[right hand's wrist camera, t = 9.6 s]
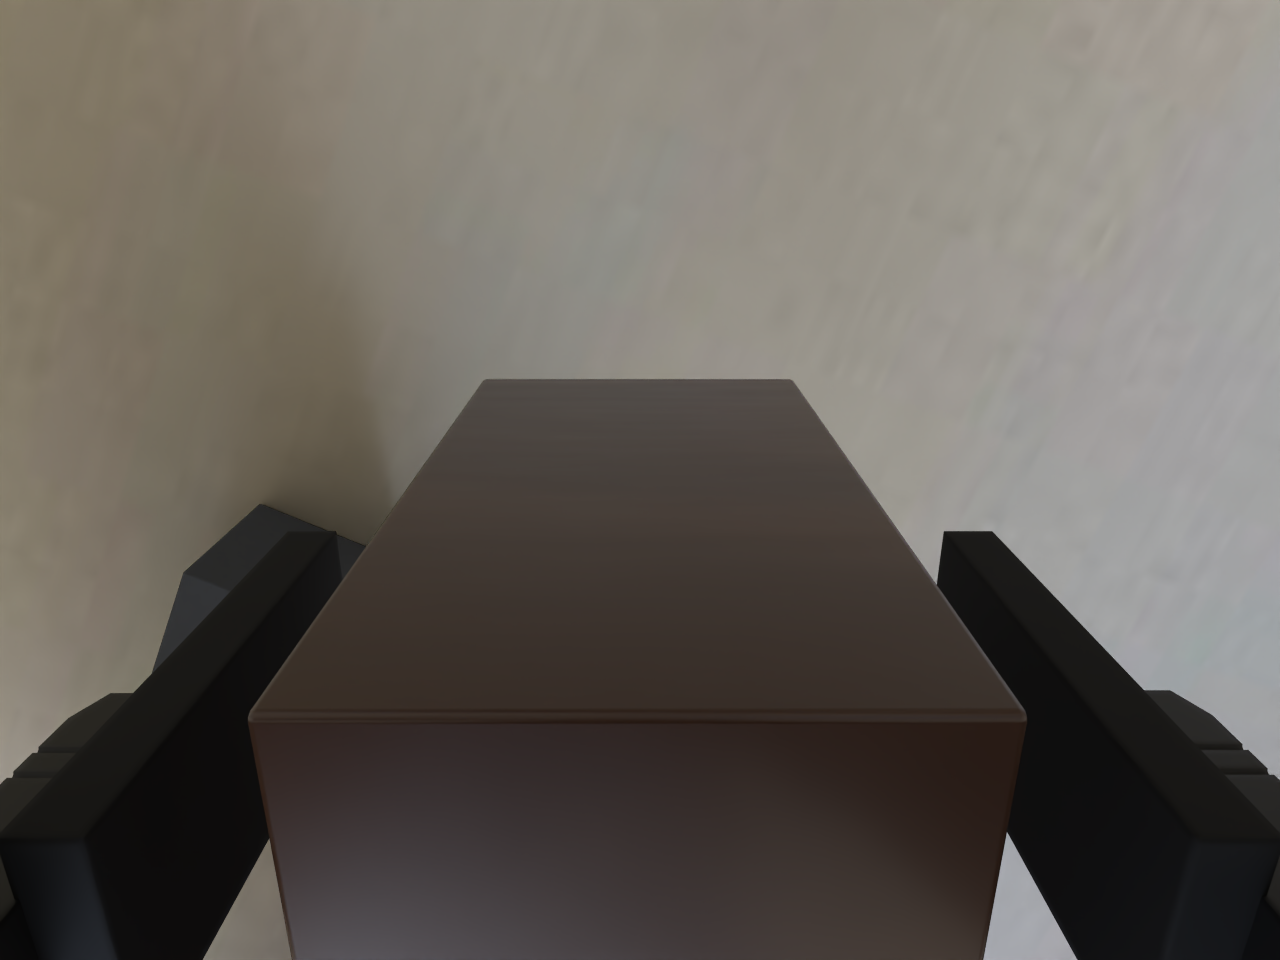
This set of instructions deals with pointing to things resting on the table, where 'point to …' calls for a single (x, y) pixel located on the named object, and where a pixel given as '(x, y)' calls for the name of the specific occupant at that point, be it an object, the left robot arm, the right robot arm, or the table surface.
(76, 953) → the right robot arm
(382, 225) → the table surface
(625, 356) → the table surface
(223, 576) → the grey rubber block
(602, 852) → the walnut beam
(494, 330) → the table surface
